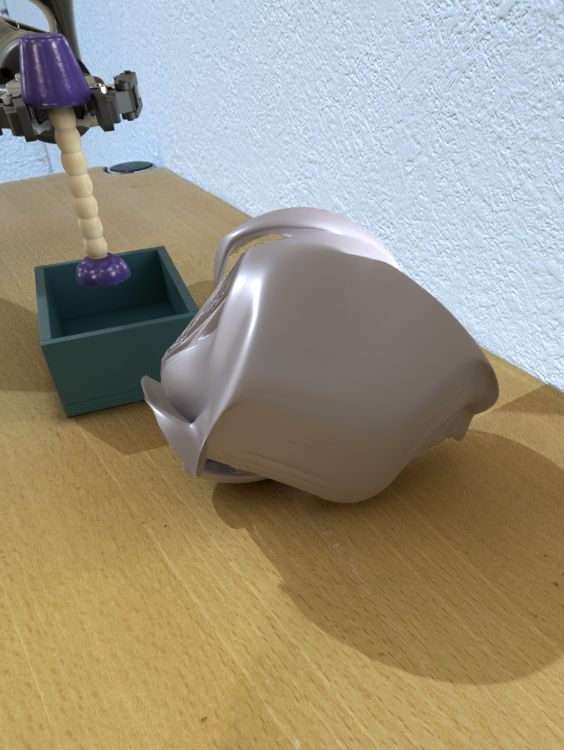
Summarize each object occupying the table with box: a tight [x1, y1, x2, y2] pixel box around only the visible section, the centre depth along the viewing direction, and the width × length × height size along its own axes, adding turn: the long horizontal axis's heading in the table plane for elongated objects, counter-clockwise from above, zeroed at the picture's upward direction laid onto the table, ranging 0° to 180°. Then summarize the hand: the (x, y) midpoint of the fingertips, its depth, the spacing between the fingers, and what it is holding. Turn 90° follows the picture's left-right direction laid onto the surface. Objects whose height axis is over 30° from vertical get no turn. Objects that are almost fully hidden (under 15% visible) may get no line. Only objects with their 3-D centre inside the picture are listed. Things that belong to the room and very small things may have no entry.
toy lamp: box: [19, 33, 131, 287], centre depth 52 cm, size 5×5×17 cm
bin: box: [33, 245, 200, 418], centre depth 59 cm, size 18×12×6 cm, turn 23°
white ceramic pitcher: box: [141, 206, 500, 504], centre depth 43 cm, size 20×18×15 cm
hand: (67, 119), depth 48 cm, fingers closed on toy lamp, 4 cm apart
